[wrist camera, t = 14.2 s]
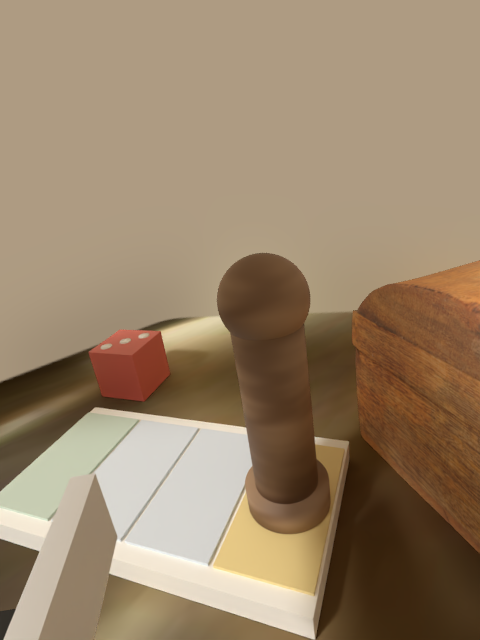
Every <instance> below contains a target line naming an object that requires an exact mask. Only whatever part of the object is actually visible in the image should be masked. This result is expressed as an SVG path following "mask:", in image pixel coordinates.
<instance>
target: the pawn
mask: <svg viewBox="0 0 480 640" xmlns="http://www.w3.org/2000/svg"><path fill="white" fill-rule="evenodd" d="M217 305H218V311H219V315H220V317H221V320H222V321H223V323H224V325H225V327H226V328H227V329H228V330H229V331H230V333H231V339H232V345H233V351H234V357H235V363H236V369H237V375H238V382H239V388H240V394H241V400H242V406H243V412H244V418H245V424H246V430H247V436H248V442H249V448H250V454H251V460H252V467H251V468H250V469H249V471H248V473H247V475H246V479H245V488H246V494H247V500H248V505H249V510H250V513H251V515H252V517H253V518H254V520H255V521H256V522H257V523H258V524H259V525H261V526H262V527H263V528H265V529H267V530H269V531H272V532H275V533H279V534H298V533H302V532H305V531H308V530H310V529H312V528H314V527H316V526H317V525H318V524H320V523H321V522H322V521H323V520H324V518H325V517H326V515H327V514H328V512H329V509H330V504H331V498H330V485H329V476H328V473H327V470H326V468H325V467H324V466H323V464H322V463H321V462H320V461H318V460H317V459H316V449H315V438H314V427H313V416H312V405H311V394H310V383H309V372H308V361H307V350H306V339H305V329H304V322H305V320H306V318H307V315H308V312H309V308H310V291H309V287H308V284H307V281H306V279H305V277H304V275H303V274H302V272H301V271H300V270H299V269H298V268H297V266H295V265H294V264H293V263H292V262H290V261H289V260H287V259H285V258H283V257H281V256H279V255H275V254H270V253H257V254H252V255H249V256H246V257H244V258H242V259H240V260H239V261H237V262H236V263H234V264H233V265H232V266H231V267H230V268H229V269H228V270H227V272H226V273H225V275H224V276H223V278H222V280H221V282H220V285H219V288H218V294H217Z"/></svg>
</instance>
